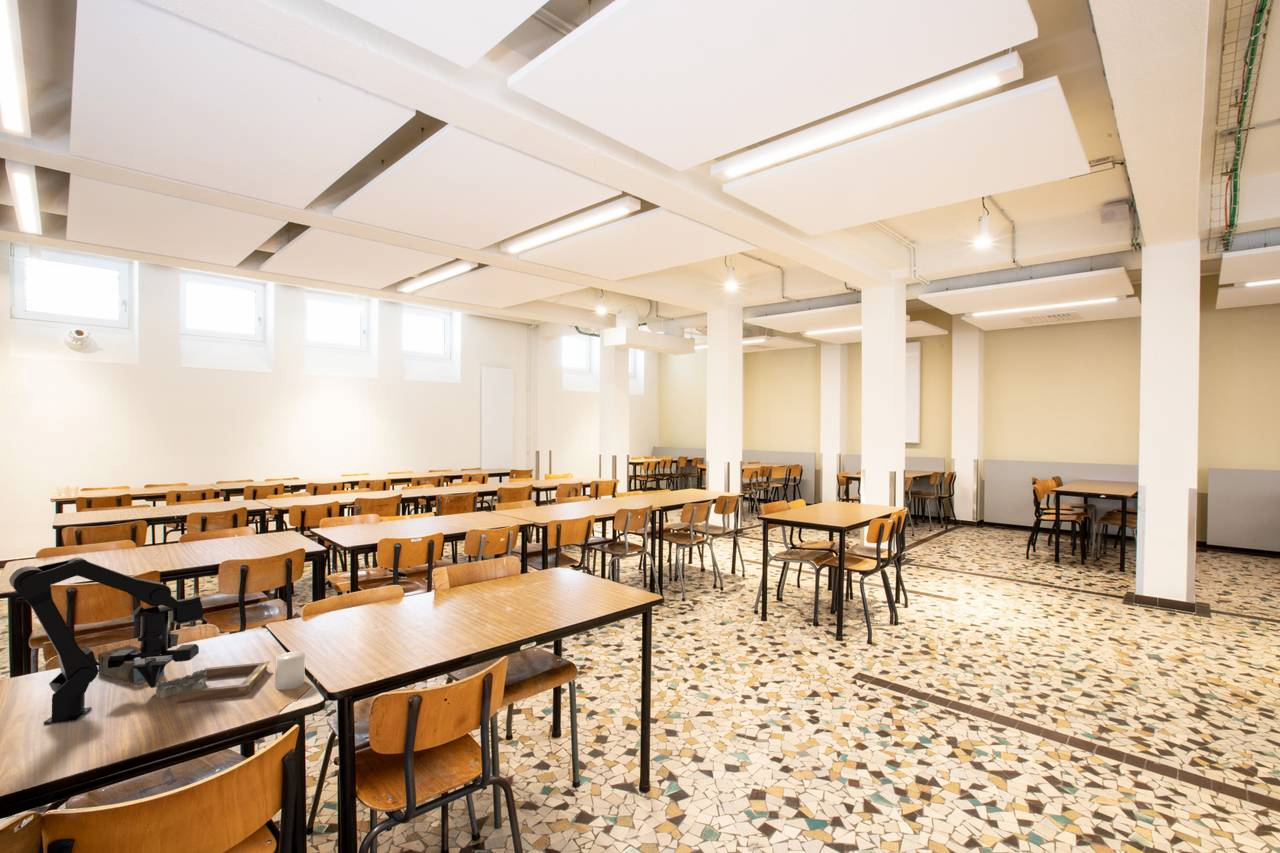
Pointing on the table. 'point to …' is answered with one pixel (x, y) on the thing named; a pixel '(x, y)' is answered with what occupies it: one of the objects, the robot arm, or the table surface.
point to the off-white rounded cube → (290, 670)
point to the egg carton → (181, 684)
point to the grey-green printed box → (121, 667)
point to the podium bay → (226, 691)
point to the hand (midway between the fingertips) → (153, 687)
